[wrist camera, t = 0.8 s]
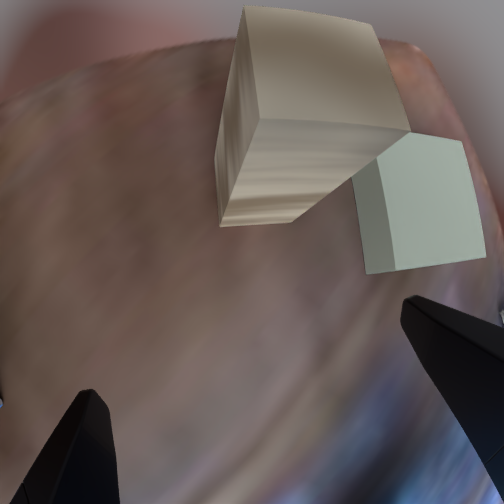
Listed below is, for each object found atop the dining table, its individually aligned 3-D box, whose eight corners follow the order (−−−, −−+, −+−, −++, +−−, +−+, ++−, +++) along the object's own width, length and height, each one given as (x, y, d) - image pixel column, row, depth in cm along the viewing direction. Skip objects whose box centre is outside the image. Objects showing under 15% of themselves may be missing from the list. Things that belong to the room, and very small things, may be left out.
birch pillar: (290, 222, 23) (411, 131, 9) (219, 227, 22) (259, 118, 8) (282, 157, 23) (370, 24, 10) (214, 158, 22) (243, 5, 9)
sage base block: (455, 262, 25) (486, 257, 21) (365, 274, 23) (395, 270, 19) (434, 157, 26) (461, 141, 22) (345, 149, 24) (369, 126, 20)
